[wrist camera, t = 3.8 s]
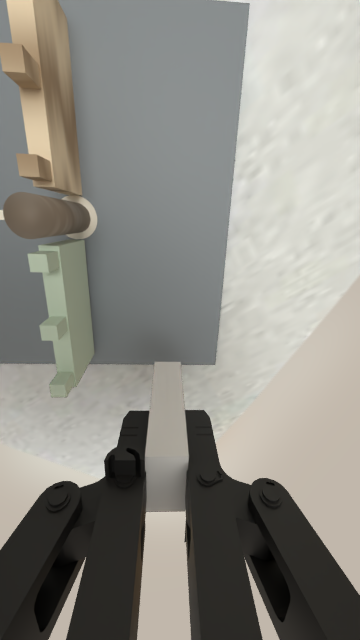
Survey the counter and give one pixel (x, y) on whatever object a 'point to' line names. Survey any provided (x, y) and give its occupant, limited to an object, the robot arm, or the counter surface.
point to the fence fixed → (44, 121)
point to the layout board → (136, 179)
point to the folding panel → (66, 310)
